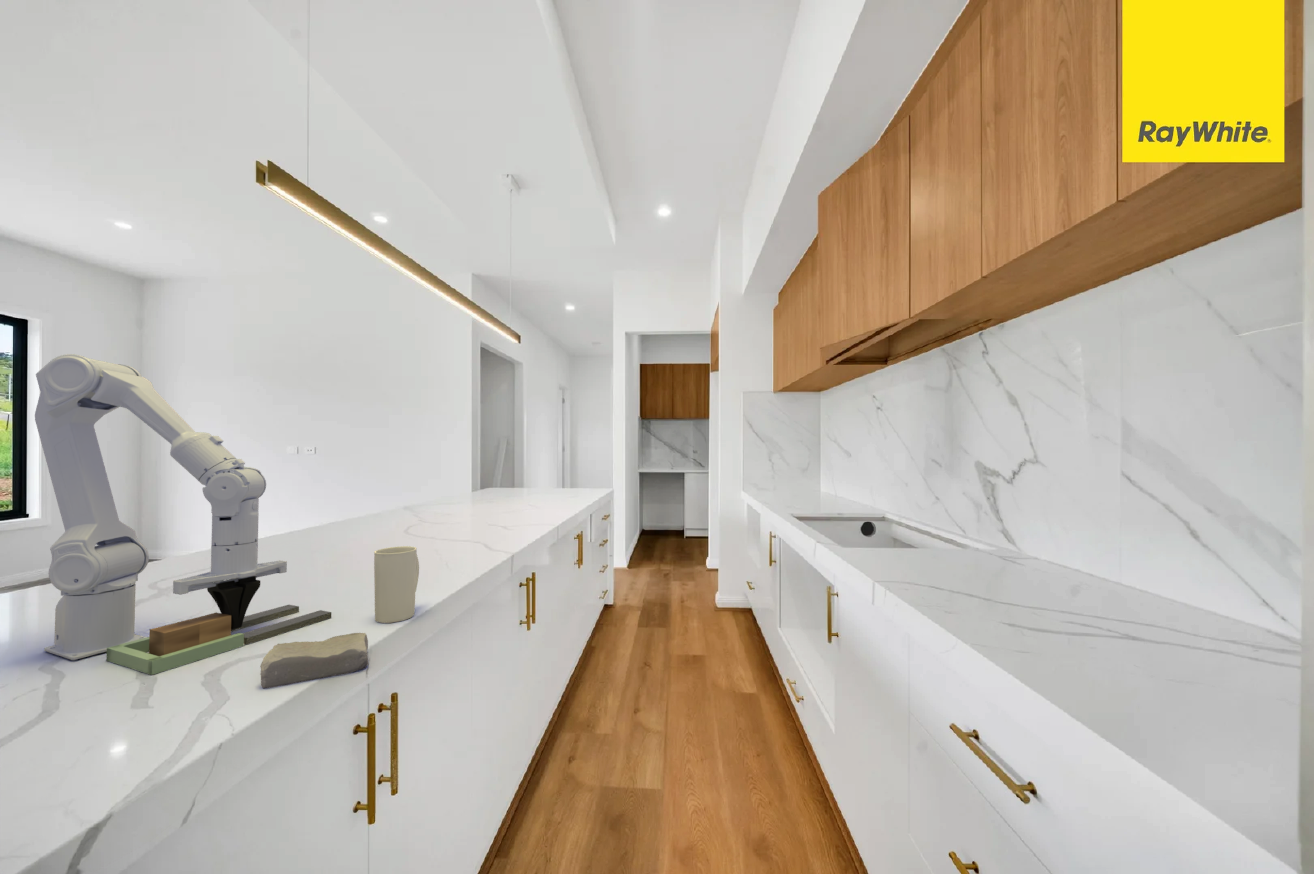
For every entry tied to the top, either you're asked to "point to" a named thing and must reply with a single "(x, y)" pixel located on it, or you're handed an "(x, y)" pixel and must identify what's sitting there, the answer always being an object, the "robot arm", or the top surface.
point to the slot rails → (281, 626)
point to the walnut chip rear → (213, 626)
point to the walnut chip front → (173, 637)
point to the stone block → (314, 660)
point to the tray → (151, 664)
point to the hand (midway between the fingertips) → (233, 627)
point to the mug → (395, 583)
